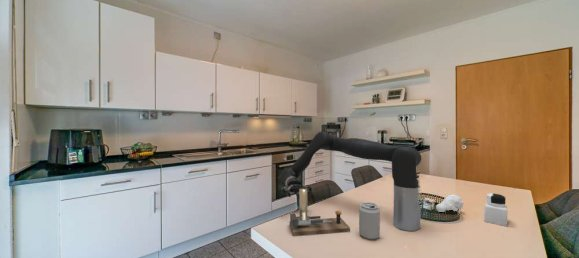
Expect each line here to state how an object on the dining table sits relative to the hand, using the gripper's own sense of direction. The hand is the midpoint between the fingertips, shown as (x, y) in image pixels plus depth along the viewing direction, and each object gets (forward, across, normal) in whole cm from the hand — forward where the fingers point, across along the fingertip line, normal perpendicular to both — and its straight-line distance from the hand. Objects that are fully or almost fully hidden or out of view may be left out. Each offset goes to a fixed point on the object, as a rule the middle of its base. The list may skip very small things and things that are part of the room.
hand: (299, 194), depth 99 cm
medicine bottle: (+15, +85, +12) cm, 87 cm away
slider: (+9, +3, +9) cm, 13 cm away
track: (+9, +6, +11) cm, 16 cm away
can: (+18, +24, +12) cm, 32 cm away
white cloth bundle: (+3, +73, +12) cm, 74 cm away
